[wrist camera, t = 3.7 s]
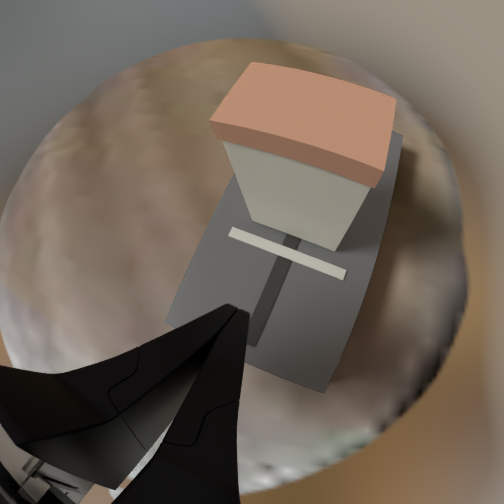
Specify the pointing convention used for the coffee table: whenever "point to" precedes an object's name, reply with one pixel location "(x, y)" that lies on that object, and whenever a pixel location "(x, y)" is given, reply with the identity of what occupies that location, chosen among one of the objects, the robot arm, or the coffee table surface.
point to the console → (287, 282)
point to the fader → (304, 148)
